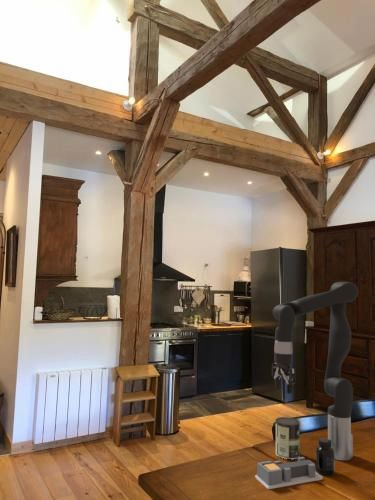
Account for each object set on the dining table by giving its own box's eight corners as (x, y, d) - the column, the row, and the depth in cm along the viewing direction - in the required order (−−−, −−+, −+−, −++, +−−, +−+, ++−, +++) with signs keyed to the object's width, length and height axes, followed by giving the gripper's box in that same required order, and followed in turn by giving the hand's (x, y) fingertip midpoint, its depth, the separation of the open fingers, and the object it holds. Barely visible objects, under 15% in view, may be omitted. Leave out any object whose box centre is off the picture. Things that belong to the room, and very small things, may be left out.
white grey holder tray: (307, 468, 154) (307, 454, 154) (322, 479, 145) (322, 464, 146) (254, 477, 145) (255, 462, 146) (268, 489, 137) (268, 473, 137)
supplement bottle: (334, 469, 153) (334, 438, 155) (335, 477, 147) (334, 444, 148) (316, 466, 156) (316, 435, 157) (316, 474, 149) (315, 442, 150)
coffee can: (298, 451, 170) (298, 418, 172) (300, 461, 160) (300, 426, 162) (274, 448, 172) (275, 415, 174) (275, 458, 162) (275, 423, 164)
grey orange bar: (308, 469, 151) (308, 458, 152) (315, 474, 147) (315, 462, 147) (263, 477, 144) (263, 464, 144) (270, 482, 140) (270, 470, 140)
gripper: (301, 354, 160) (301, 394, 158) (281, 348, 173) (281, 386, 171) (285, 355, 157) (285, 396, 156) (266, 349, 170) (266, 387, 169)
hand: (283, 390), depth 164 cm, fingers open, 8 cm apart
